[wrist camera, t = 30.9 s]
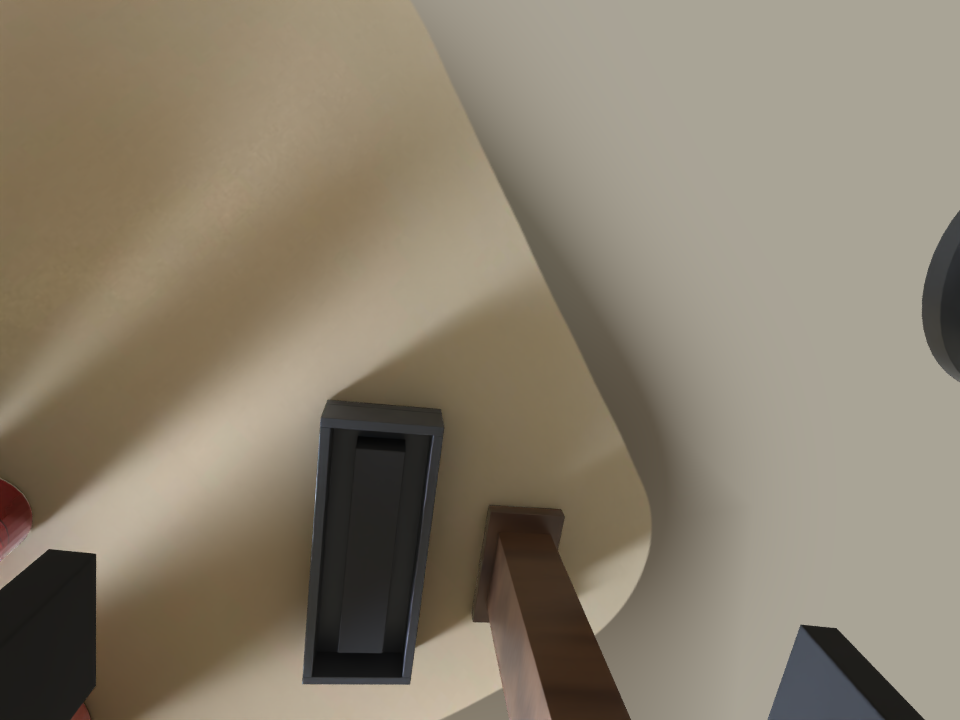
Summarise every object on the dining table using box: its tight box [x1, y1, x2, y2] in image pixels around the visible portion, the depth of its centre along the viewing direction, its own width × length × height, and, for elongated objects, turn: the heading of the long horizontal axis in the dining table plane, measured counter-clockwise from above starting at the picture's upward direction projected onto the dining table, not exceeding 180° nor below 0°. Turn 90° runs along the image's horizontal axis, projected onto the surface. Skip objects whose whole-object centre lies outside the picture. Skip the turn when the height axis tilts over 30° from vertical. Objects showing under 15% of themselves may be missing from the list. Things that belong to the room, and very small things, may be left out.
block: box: [472, 505, 631, 720], centre depth 40 cm, size 14×8×28 cm, turn 172°
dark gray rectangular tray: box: [302, 400, 444, 685], centre depth 49 cm, size 26×10×4 cm, turn 172°
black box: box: [338, 436, 406, 653], centre depth 49 cm, size 20×4×2 cm, turn 172°
